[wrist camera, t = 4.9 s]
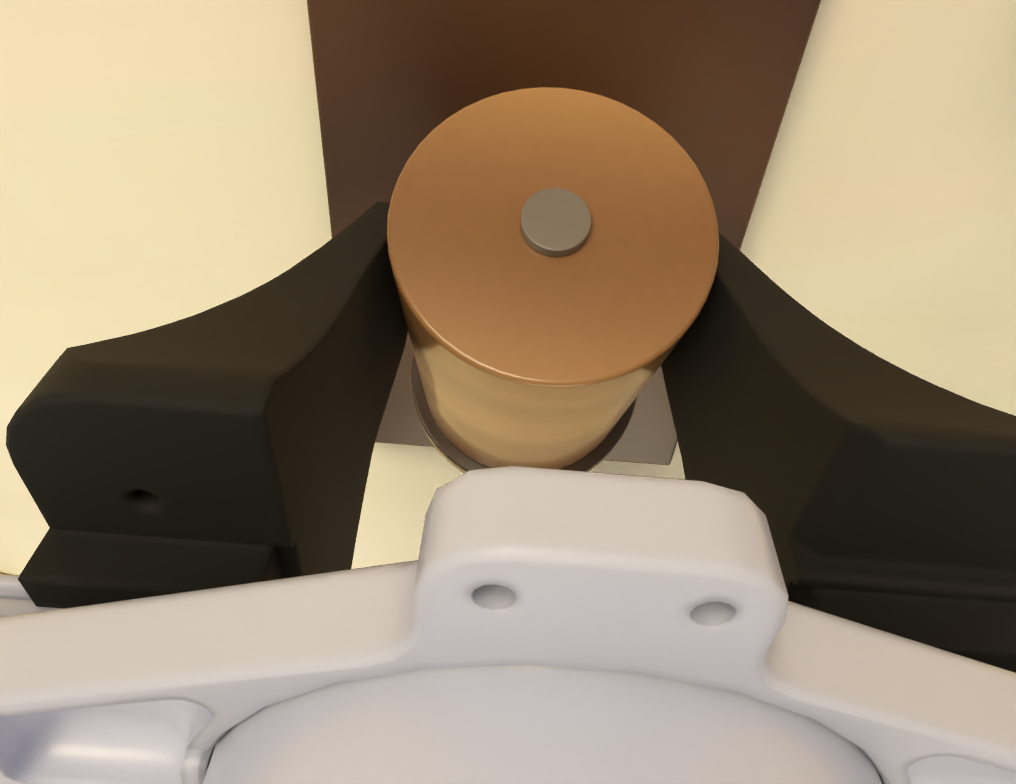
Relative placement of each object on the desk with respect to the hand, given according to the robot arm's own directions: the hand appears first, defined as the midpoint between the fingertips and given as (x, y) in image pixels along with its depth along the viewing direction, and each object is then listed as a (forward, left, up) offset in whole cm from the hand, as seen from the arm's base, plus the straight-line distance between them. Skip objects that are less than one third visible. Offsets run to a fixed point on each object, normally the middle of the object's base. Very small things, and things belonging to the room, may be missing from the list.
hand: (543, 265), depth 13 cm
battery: (-4, 0, -2) cm, 5 cm away
